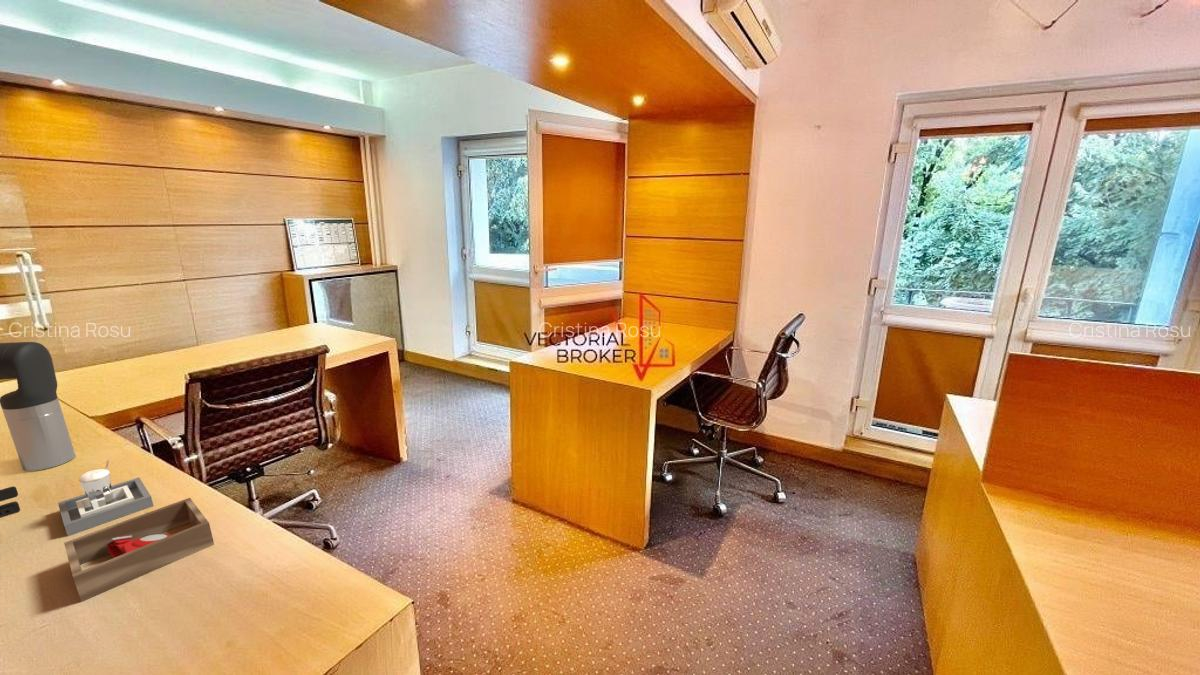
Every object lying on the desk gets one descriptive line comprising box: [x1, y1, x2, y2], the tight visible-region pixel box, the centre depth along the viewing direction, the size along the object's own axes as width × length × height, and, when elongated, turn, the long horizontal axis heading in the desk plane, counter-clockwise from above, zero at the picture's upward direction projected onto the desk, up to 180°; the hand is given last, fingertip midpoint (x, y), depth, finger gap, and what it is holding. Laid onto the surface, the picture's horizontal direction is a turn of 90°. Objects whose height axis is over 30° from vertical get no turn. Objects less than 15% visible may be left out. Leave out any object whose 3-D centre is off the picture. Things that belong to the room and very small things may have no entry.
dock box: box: [57, 477, 154, 537], centre depth 102 cm, size 13×13×2 cm
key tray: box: [63, 497, 215, 602], centre depth 88 cm, size 14×18×5 cm
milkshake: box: [78, 460, 114, 510], centre depth 101 cm, size 4×5×10 cm
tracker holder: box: [104, 533, 171, 559], centre depth 87 cm, size 12×4×10 cm
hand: (18, 498), depth 92 cm, fingers open, 8 cm apart
